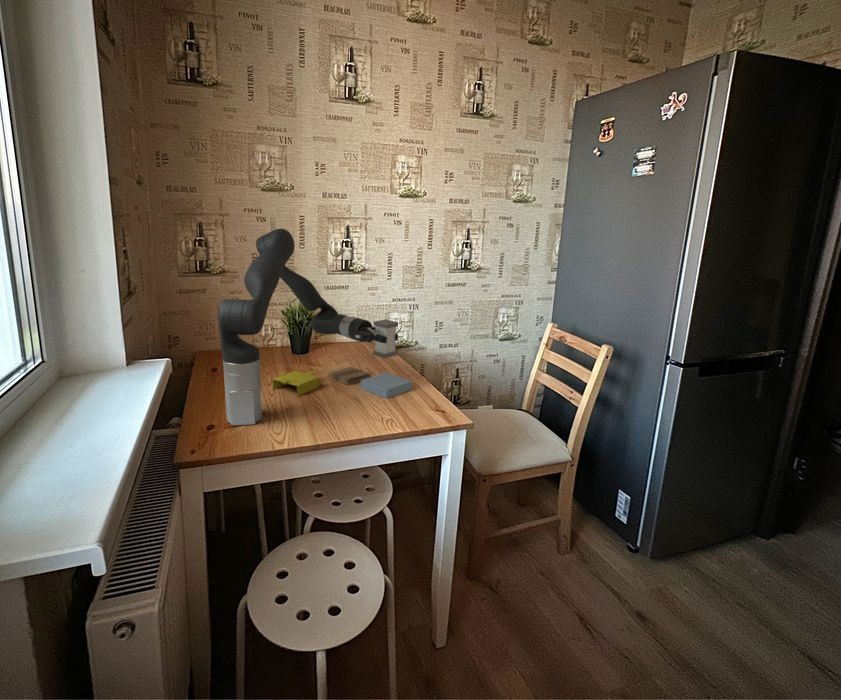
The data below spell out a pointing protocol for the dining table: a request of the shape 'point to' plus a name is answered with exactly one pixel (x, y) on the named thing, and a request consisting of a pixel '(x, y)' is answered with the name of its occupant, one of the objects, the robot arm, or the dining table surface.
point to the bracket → (298, 381)
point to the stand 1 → (349, 375)
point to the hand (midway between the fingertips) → (391, 338)
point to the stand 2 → (386, 385)
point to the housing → (389, 331)
